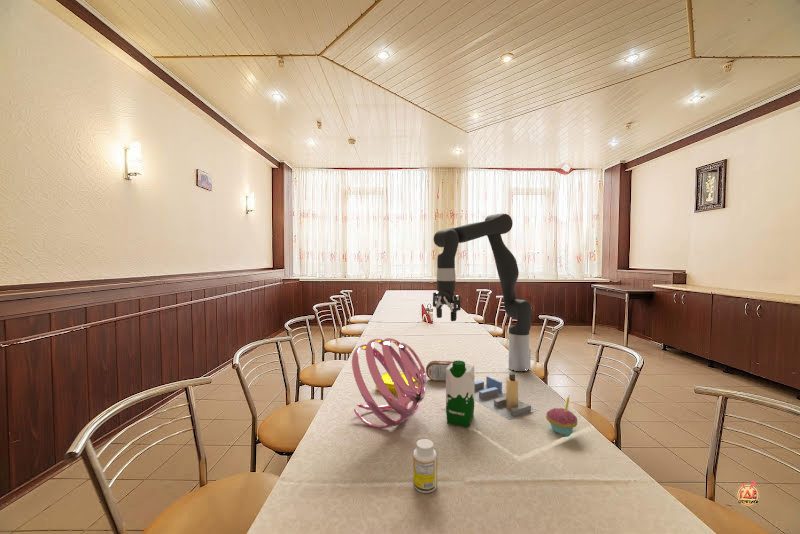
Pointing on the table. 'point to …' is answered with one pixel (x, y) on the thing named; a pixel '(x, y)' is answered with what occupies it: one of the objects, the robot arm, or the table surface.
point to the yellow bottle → (511, 392)
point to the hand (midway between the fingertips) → (446, 319)
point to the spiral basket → (403, 389)
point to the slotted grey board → (498, 399)
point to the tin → (437, 370)
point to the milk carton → (459, 393)
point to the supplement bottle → (425, 466)
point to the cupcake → (562, 419)
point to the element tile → (390, 383)
